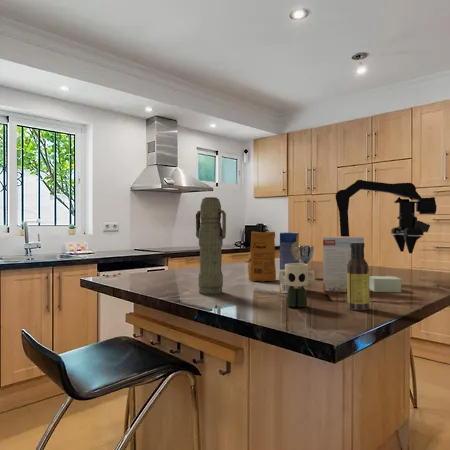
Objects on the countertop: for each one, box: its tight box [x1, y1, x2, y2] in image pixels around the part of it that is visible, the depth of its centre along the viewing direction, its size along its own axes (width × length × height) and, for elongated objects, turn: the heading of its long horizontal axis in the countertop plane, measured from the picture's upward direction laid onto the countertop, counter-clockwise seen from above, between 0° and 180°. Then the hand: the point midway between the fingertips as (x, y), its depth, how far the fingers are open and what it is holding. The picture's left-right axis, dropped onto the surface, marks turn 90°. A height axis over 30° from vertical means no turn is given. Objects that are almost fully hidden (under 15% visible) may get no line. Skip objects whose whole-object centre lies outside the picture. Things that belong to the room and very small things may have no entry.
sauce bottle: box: [346, 242, 371, 312], centre depth 113 cm, size 6×6×20 cm
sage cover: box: [369, 275, 402, 293], centre depth 137 cm, size 9×7×6 cm
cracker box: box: [322, 235, 365, 296], centre depth 137 cm, size 14×6×21 cm, turn 74°
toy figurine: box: [278, 262, 316, 308], centre depth 116 cm, size 11×7×13 cm, turn 81°
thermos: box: [195, 196, 227, 296], centre depth 140 cm, size 9×12×35 cm
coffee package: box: [247, 231, 277, 282], centre depth 171 cm, size 10×12×22 cm
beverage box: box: [279, 232, 300, 294], centre depth 144 cm, size 7×11×22 cm, turn 170°
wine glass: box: [299, 245, 315, 278], centre depth 179 cm, size 8×8×15 cm
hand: (406, 252), depth 155 cm, fingers open, 9 cm apart
